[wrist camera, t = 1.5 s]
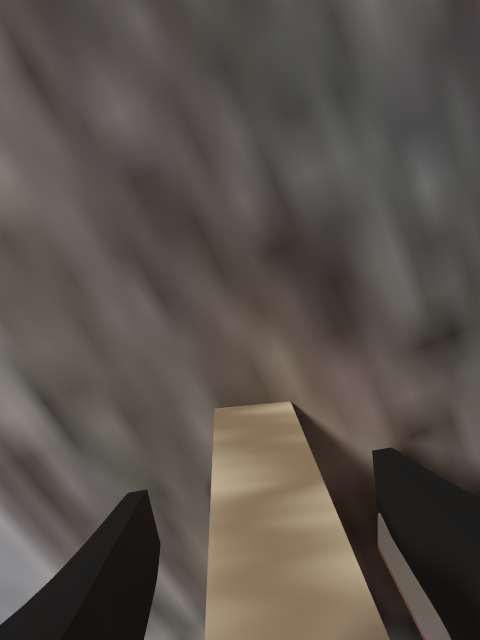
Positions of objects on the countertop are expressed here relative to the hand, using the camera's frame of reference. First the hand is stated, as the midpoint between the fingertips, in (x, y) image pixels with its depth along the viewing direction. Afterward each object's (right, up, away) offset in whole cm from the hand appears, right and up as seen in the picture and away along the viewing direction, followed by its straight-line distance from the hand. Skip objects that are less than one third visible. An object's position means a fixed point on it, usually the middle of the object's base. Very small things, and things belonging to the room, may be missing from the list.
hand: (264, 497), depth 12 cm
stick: (0, +1, +3) cm, 3 cm away
